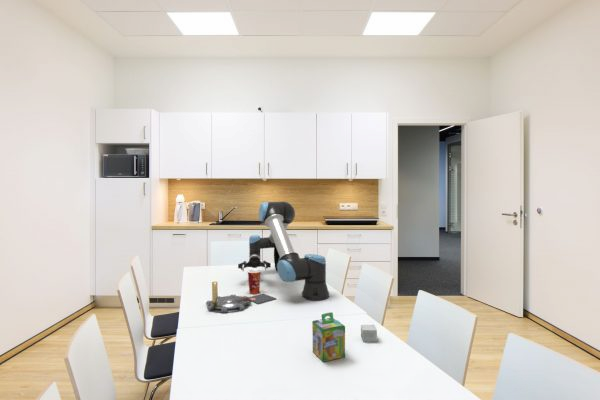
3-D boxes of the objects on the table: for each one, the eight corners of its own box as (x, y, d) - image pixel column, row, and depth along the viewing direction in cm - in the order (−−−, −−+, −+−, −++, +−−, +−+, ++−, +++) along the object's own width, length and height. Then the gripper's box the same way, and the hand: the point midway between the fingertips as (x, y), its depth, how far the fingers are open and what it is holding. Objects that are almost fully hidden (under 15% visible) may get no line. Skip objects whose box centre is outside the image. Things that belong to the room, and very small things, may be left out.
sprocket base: (258, 305, 180) (258, 304, 180) (220, 316, 166) (220, 315, 166) (236, 296, 197) (236, 295, 197) (199, 305, 182) (199, 304, 182)
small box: (360, 336, 142) (360, 324, 142) (374, 336, 142) (374, 324, 142) (362, 342, 137) (362, 330, 136) (377, 342, 136) (377, 330, 136)
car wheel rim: (292, 272, 251) (292, 244, 250) (279, 273, 248) (278, 245, 248) (286, 266, 270) (286, 240, 269) (274, 267, 268) (273, 241, 267)
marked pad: (276, 299, 190) (276, 297, 190) (258, 304, 183) (258, 302, 182) (263, 294, 199) (263, 293, 199) (245, 299, 191) (245, 297, 191)
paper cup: (255, 295, 197) (255, 271, 197) (245, 293, 201) (244, 269, 201) (263, 292, 204) (263, 268, 203) (253, 290, 208) (253, 266, 208)
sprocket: (244, 294, 196) (243, 271, 196) (256, 307, 176) (256, 280, 175) (203, 300, 187) (202, 276, 186) (211, 314, 166) (210, 286, 166)
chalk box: (323, 362, 121) (322, 320, 120) (311, 351, 129) (311, 311, 129) (346, 357, 125) (346, 316, 124) (333, 346, 133) (333, 308, 132)
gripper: (273, 266, 235) (274, 274, 214) (235, 267, 232) (233, 275, 211) (273, 255, 235) (274, 262, 214) (235, 256, 232) (233, 263, 211)
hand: (254, 268), depth 212 cm, fingers open, 13 cm apart
